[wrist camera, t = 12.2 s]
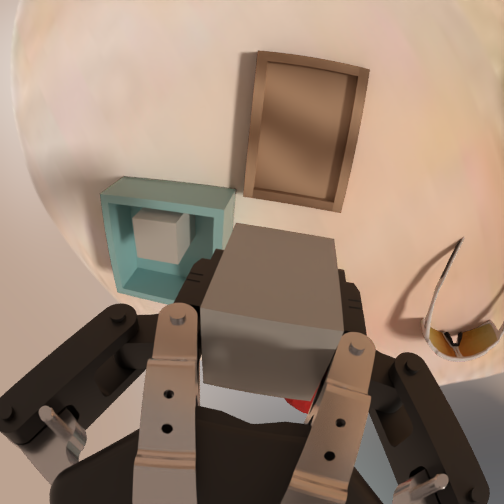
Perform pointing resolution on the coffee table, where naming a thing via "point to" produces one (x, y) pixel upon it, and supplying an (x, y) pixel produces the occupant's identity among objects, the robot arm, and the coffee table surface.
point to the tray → (303, 129)
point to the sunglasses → (467, 342)
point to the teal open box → (170, 199)
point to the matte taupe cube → (163, 234)
